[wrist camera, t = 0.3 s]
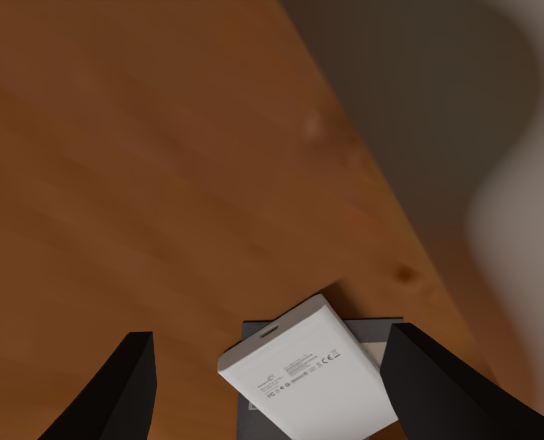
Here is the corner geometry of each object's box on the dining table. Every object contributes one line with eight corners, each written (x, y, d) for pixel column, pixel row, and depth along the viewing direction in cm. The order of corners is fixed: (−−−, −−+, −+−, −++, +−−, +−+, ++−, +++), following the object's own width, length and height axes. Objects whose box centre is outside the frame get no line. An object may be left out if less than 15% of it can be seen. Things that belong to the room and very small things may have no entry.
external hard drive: (312, 444, 27) (217, 356, 22) (400, 393, 26) (320, 290, 21) (317, 465, 26) (216, 376, 21) (411, 413, 25) (327, 306, 20)
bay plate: (365, 450, 29) (365, 452, 29) (235, 461, 27) (235, 463, 27) (402, 318, 23) (403, 319, 23) (242, 321, 22) (243, 323, 22)
